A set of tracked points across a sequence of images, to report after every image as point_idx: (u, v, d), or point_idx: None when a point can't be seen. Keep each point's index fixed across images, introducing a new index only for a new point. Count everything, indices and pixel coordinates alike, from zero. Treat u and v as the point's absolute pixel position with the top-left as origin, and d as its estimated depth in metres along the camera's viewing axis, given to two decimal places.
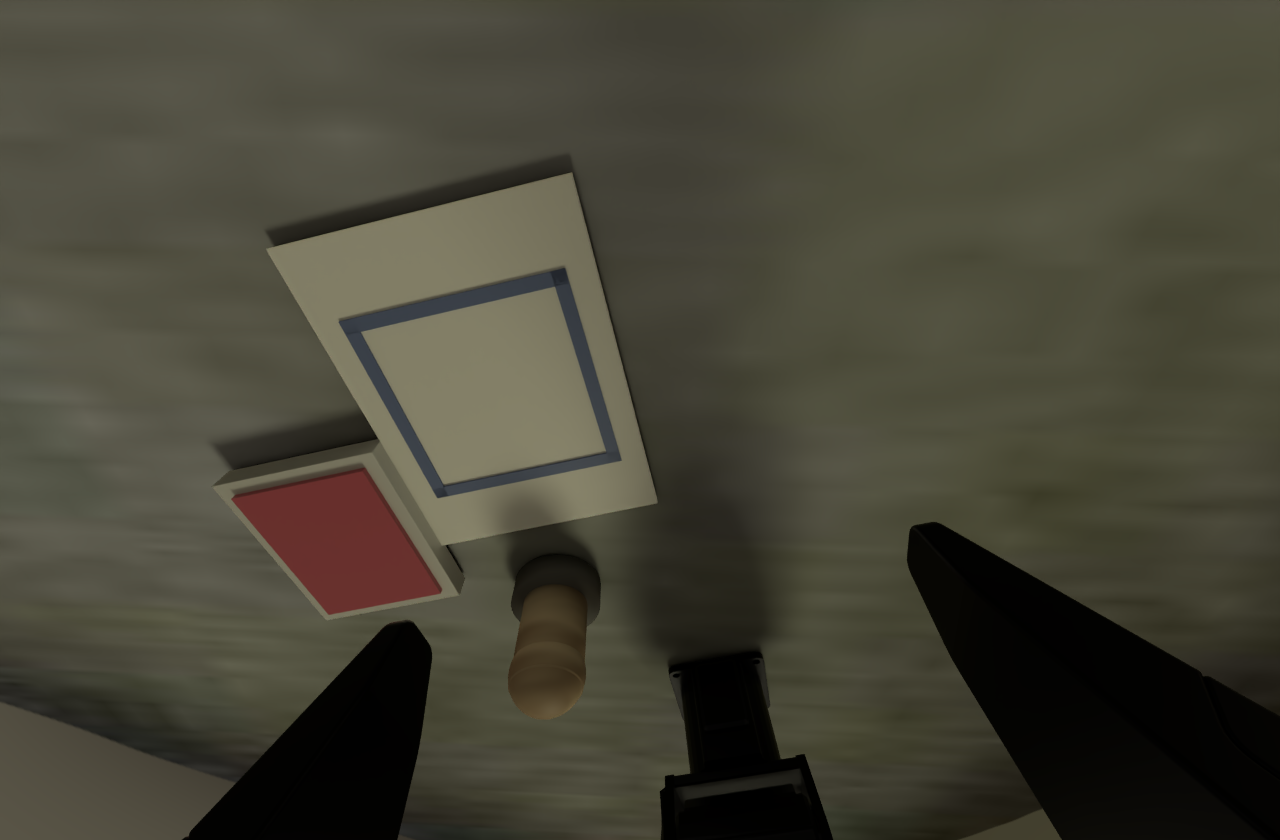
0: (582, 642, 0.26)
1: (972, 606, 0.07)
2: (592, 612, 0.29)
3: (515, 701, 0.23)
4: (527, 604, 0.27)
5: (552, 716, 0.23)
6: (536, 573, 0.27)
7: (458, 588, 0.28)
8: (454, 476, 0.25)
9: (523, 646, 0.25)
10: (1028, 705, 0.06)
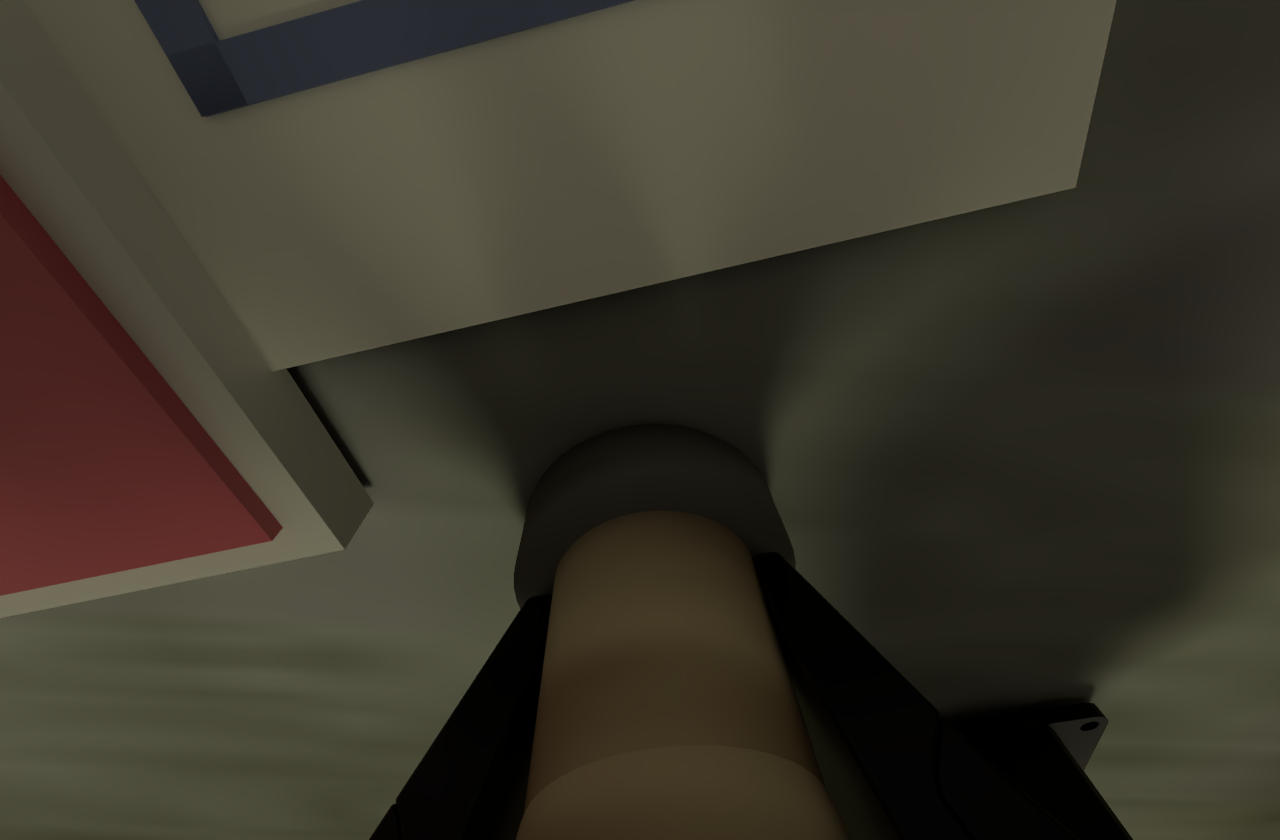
0: (805, 728, 0.06)
1: (782, 639, 0.07)
2: None
3: None
4: (572, 578, 0.08)
5: None
6: (601, 472, 0.08)
7: (342, 527, 0.09)
8: None
9: (574, 765, 0.05)
10: (819, 738, 0.06)
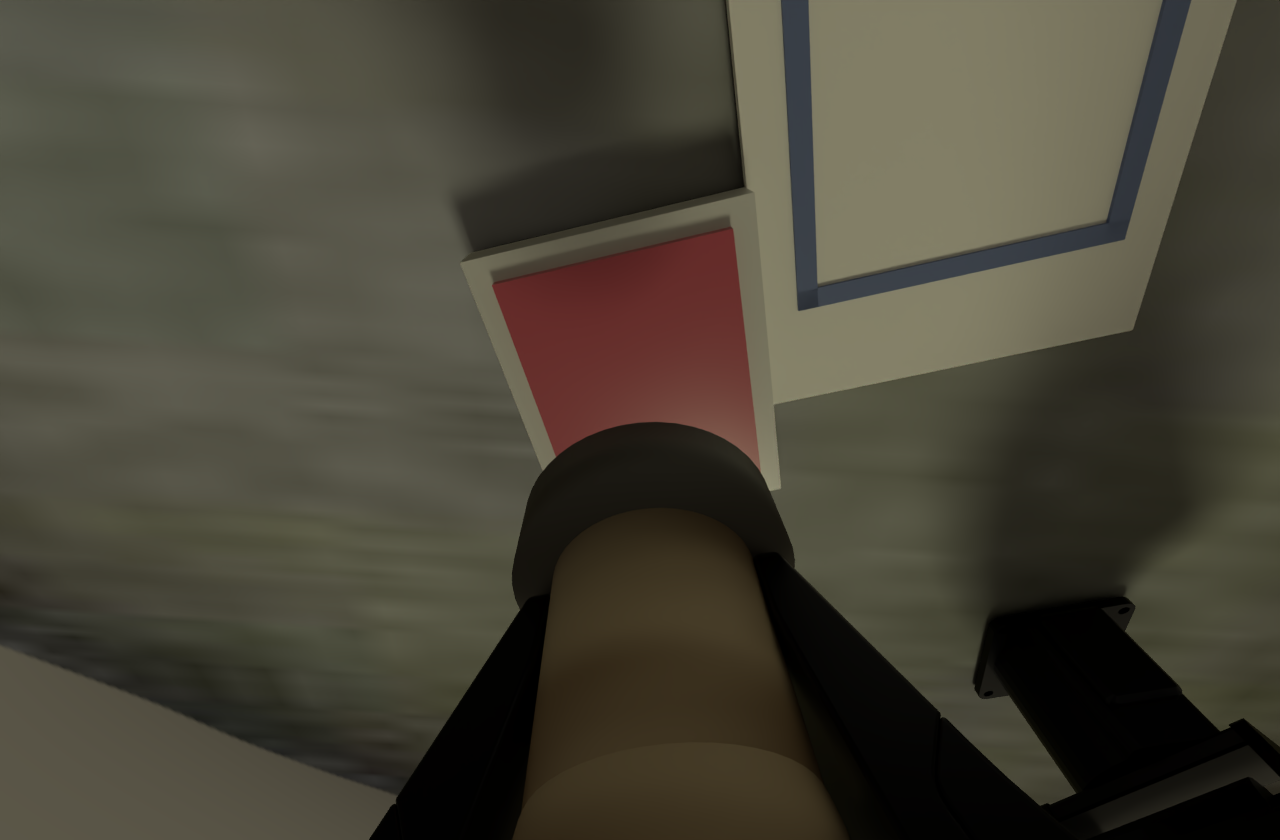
0: (805, 725, 0.06)
1: (782, 639, 0.07)
2: None
3: None
4: (570, 575, 0.08)
5: None
6: (599, 470, 0.08)
7: None
8: (840, 267, 0.15)
9: (571, 762, 0.05)
10: (819, 738, 0.06)
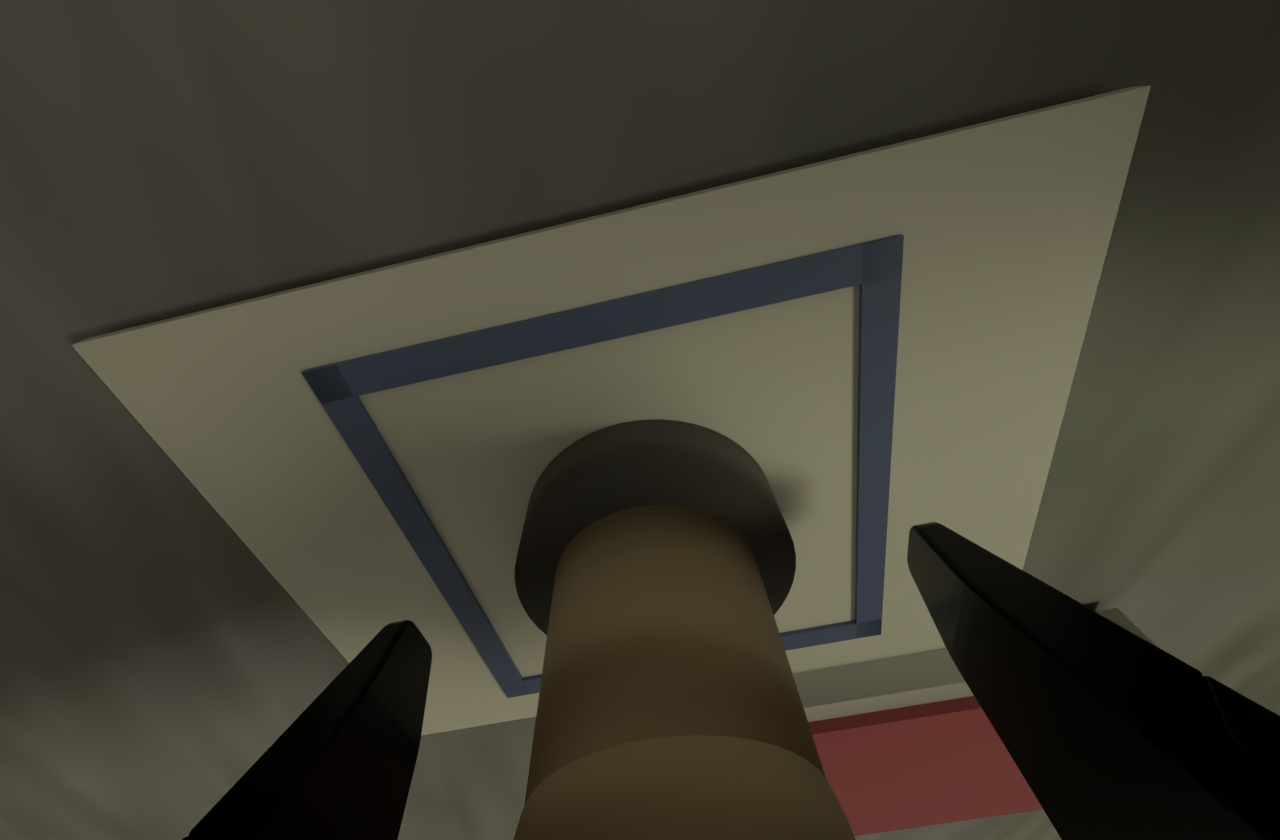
0: (806, 720, 0.06)
1: (972, 606, 0.07)
2: None
3: None
4: (573, 571, 0.08)
5: None
6: (602, 466, 0.08)
7: None
8: (836, 603, 0.12)
9: (575, 755, 0.05)
10: (1028, 705, 0.06)
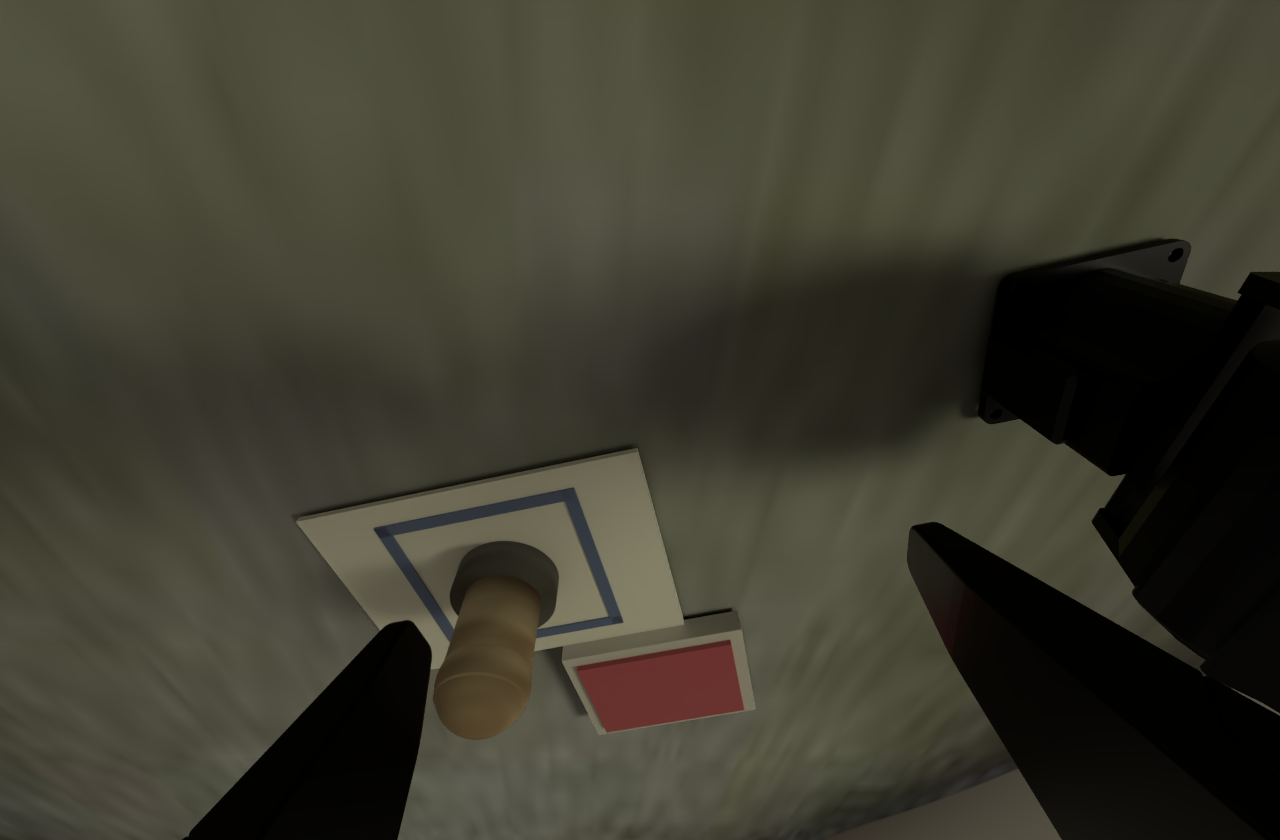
0: (528, 644, 0.21)
1: (972, 606, 0.07)
2: (546, 609, 0.24)
3: (440, 717, 0.19)
4: (466, 599, 0.23)
5: (485, 736, 0.19)
6: (477, 562, 0.23)
7: (735, 626, 0.27)
8: (598, 608, 0.27)
9: (454, 649, 0.20)
10: (1028, 705, 0.06)
